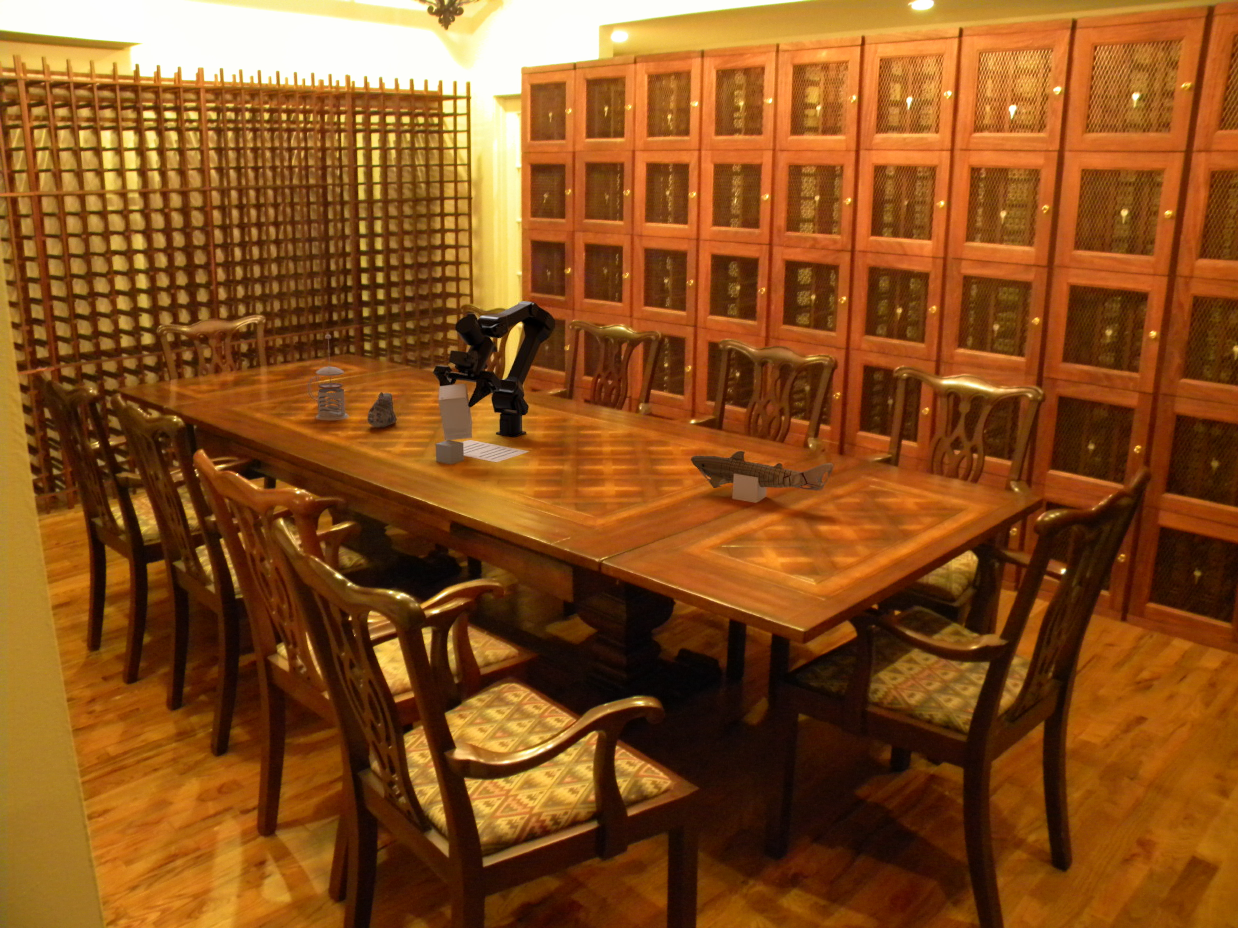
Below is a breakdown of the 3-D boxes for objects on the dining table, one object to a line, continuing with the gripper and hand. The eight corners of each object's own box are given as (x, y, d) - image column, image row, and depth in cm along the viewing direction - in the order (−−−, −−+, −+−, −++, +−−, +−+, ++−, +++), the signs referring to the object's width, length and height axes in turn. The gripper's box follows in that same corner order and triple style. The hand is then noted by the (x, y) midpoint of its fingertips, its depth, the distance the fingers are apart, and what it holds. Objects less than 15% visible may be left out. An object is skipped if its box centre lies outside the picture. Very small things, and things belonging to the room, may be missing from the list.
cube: (449, 458, 279) (448, 440, 277) (463, 461, 276) (463, 442, 275) (436, 462, 275) (435, 443, 273) (450, 465, 272) (450, 446, 271)
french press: (343, 420, 317) (339, 337, 310) (305, 419, 317) (300, 336, 311) (352, 413, 326) (348, 332, 320) (314, 412, 327) (310, 331, 320)
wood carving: (823, 516, 237) (827, 468, 234) (682, 491, 254) (684, 446, 251) (836, 506, 245) (840, 459, 242) (698, 482, 261) (700, 438, 258)
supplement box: (472, 438, 280) (466, 397, 273) (444, 441, 280) (437, 400, 273) (473, 423, 286) (466, 382, 279) (445, 425, 286) (438, 385, 279)
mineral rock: (373, 432, 304) (372, 398, 301) (350, 426, 311) (348, 392, 308) (409, 425, 314) (408, 392, 311) (385, 419, 320) (384, 386, 318)
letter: (469, 440, 297) (469, 439, 297) (529, 452, 286) (529, 451, 286) (435, 450, 286) (435, 449, 286) (496, 463, 275) (496, 462, 275)
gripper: (435, 335, 283) (411, 383, 277) (494, 341, 274) (470, 391, 268) (454, 359, 292) (431, 406, 286) (511, 366, 283) (489, 415, 277)
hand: (454, 404), depth 279 cm, fingers closed on supplement box, 9 cm apart
